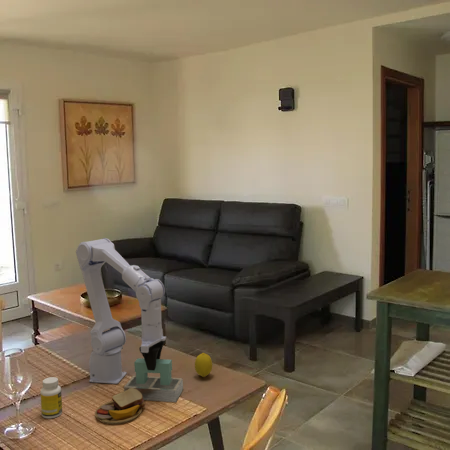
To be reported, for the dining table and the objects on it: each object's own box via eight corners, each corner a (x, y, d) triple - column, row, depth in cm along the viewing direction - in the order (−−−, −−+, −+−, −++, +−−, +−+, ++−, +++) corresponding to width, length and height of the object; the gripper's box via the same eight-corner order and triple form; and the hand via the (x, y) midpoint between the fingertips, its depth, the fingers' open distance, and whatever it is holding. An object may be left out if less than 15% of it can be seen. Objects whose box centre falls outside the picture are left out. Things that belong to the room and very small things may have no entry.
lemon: (210, 381, 161) (209, 356, 160) (193, 380, 163) (192, 355, 161) (214, 374, 167) (213, 350, 166) (197, 372, 168) (196, 349, 167)
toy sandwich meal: (90, 409, 145) (89, 393, 145) (137, 399, 151) (137, 383, 150) (101, 431, 134) (100, 413, 133) (151, 418, 140) (151, 401, 139)
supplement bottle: (62, 417, 141) (60, 382, 139) (41, 420, 139) (38, 385, 138) (62, 408, 146) (60, 374, 145) (42, 411, 144) (40, 377, 143)
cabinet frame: (124, 398, 151) (123, 387, 150) (133, 386, 159) (133, 375, 158) (175, 402, 148) (175, 390, 148) (183, 389, 156) (182, 378, 156)
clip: (135, 383, 152) (134, 362, 152) (138, 379, 155) (137, 358, 154) (169, 385, 151) (168, 363, 150) (172, 380, 154) (171, 359, 153)
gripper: (157, 331, 143) (159, 378, 145) (171, 315, 157) (173, 358, 159) (132, 330, 144) (134, 377, 146) (149, 314, 158) (150, 357, 160)
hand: (153, 367), depth 152 cm, fingers closed on clip, 3 cm apart
